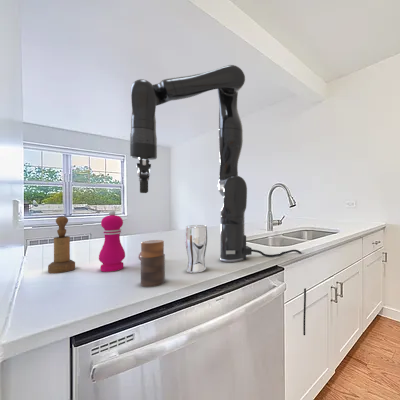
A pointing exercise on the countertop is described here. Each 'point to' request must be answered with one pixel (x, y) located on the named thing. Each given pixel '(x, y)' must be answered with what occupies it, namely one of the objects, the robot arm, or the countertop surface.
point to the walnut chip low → (152, 278)
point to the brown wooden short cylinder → (152, 248)
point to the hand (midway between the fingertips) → (143, 192)
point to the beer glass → (196, 247)
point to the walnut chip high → (153, 264)
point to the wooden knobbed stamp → (61, 250)
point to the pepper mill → (112, 244)
